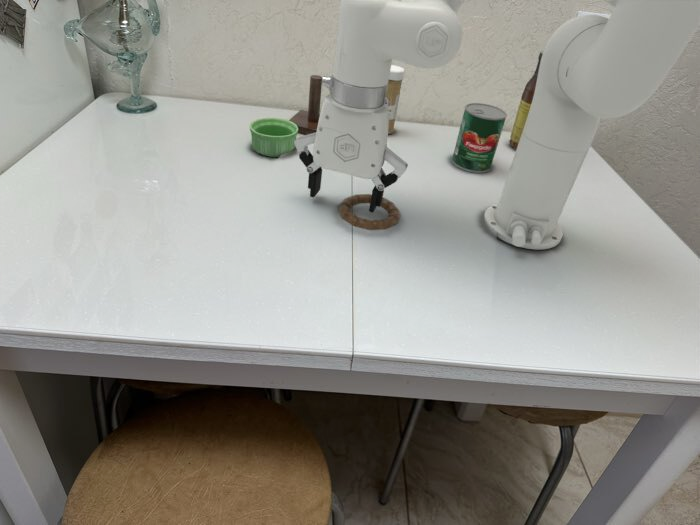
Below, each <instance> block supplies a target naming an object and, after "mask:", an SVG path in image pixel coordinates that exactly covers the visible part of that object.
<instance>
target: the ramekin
mask: <svg viewBox="0 0 700 525" xmlns="http://www.w3.org/2000/svg"><path fill="white" fill-rule="evenodd" d="M249 131H250V135H251V136H250V137H251V145H252V149H253V150H254V151H255V152H256V153H257V154H259V155H262V156H265V157H271V158H280V157H281V156H282V155H283V154H286V153H290V152H292V151H294V149H296V146H295V144H294V141H295V140H296V139H297V138H298V137H297V136H298V134H299V133H298V127H297V125H296V124H294V123H293V122H291V121H289V119H285V118H279V117H262V118H257V119H255V120H253V121H251V122H250V123H249Z"/></svg>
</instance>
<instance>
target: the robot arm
mask: <svg viewBox="0 0 700 525" xmlns="http://www.w3.org/2000/svg"><path fill="white" fill-rule="evenodd" d="M464 1H465V0H340V4H339V12H338V23H337V31H336V32H337V33H336V40H335V41H336V42H335V52H334V62H333V71H332V75H329V76H326V75H323V76H322V87H325V88H327V89H328V91H329V94H327V96H325V97H324V99H323V102H322V105H321V107H320V117H319V121H318V126H317V132H315V133H312V134H308V135H306V134H303V135H301V136H298V137H296V140H295V141H294V144H295V149H296V151H297V154H298V159H299V160H300V161H301V162H302V164H303V165H304V166H305V168H306V172H307V173H308V181H307V189H308V190H309V197H310V198H315V197H316V196H317V195H318V193H319V191H320V190H321V186H322V177H323V169H325V170H329V171H332V172H336V173H340V174H344V175H347V176H353V177H356V178H361V179H365V180H371V181H372V183H373V185H374V187H373V188H372V191H371V195H372V196H371V202H370V203H369V209H368V211H369V213H372V214H374V212H375V210H376V208H377V207H378V208H379V207H380V208H381V206H380V205H381V203H382V198H384V192H385V189H386V188H388V187H390V186H392V185H393V184H395V183H397V181H398V180H399V179H400V178H401V177H402V176H403V175H404V173H405V172H406V171H407V168H408V166H409V165H408V162H406V161H405V160H404V159H402V158H401V157H400V156H399V155H398V154H397V153H395V152H394V151H393V150H391V149H390V148H389V147H388V138H389V134H388V125H389V110H388V105H387V104H385V98H386V92H387V86H388V81H389V75H390V69H391V65H392V62H393V61H397V62H400V63H404V64H406V65H410V66H413V67H417V68H420V69H436V68H440V67H443V66H445V65H447V64H448V63H449V62H451V61H452V59H454V58H455V57H456V55H457V54H458V52H459V50H460V48H461V45H462V40H463V29H462V25H461V21H460V19H459V17H458V15H457V12H458V11H459V9H460V8H461V6H462V5H463V3H464ZM603 1H604V2H606V3H607V4H609V5H610V6H612V7H614V9H613V11H612V12H611V14H610V16H609V18H608V17H606V16H602V15H598V14H583V15H578V16H575V17H573V18H570V19H569V20H567V21H565V22H564V23H563V24H561V25H560V26H559V27H558V28H557V29H556V30H555V31H554V32H553V33H552V34H551V36H550V38H549V39H548V41H547V43H546V44H545V47H544V50H543V51H544V52H543V55H542V58H541V62H540V66H539V72H538V77H537V82H536V88H535V92H534V96H533V100H532V104H531V107H530V110H529V114H528V117H527V120H526V123H525V126H524V129H523V132H522V135H521V137H520V140H519V143H518V146H517V149H515V153H514V155H513V158H512V161H511V164H510V167H509V170H508V173H507V176H506V179H505V182H504V186H503V188H502V191H501V194H500V197H499V200H498V203H493V204H492V205H490V206H488V207H487V208H486V210H485V211H484V216H483V217H484V221H485V223H486V225H487V226H488V227H489V228H490V229H491V230H492V231H493V232H495V233H496V237H497V238H498V239H499V240H501V241H502V242H505V243H507V244H510V245H512V246H515V247H517V248H522V249H526V250H534V251H535V250H548V249H552V248H555V247H556V246H557V245H558V246H559V244H560V242H561V240H562V238H563V236H564V230H563V228H562V226H561V225H560V223H559V219H560V217H561V215H562V213H563V210H564V208H565V206H566V203H567V201H568V198H569V196H570V194H571V191H572V190H573V187H574V186H575V182H576V180H577V178H578V176H579V173H580V171H581V168H582V166H583V163H584V162H585V159H586V157H587V154H588V152H589V150H590V148H591V147H592V146H591V145H592V143H593V141H594V139H595V136H596V134H597V131H598V128H599V125H600V121H601V120H602V119H603V120H613V119H619V118H622V117H625V116H627V115H629V114H632V113H633V112H635V111H636V110H637V109H639V108H640V107H642V105H644V104H645V103H646V102H647V101H648V100H649V99H650V98H651V97H652V95H653V94H654V93H655V92H656V91H657V90H658V88H659V87H660V86H661V84H662V83H663V82H664V80H665V78H666V77H667V76H668V74H669V73H670V71H671V70H672V68H673V67H674V65H675V64H676V62H677V61H678V60H679V58H680V56H681V55H682V53H683V52H684V50H685V49H686V47H687V46H688V44H689V43H690V42H691V40H692V38H694V36H695V34H696V33H697V31H698V29H699V28H700V0H603ZM310 145H313V152H312V153H311V151H310V150H309V148H308V146H310ZM385 161H386V162H387V163H388V164H390V165H391V166H392V167H393V168H394V169H393V171H391V172H389V173H387V174H386V172H385V170H384V169H383V166H384V164H385Z"/></svg>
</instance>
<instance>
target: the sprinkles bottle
mask: <svg viewBox="0 0 700 525" xmlns="http://www.w3.org/2000/svg"><path fill="white" fill-rule="evenodd" d="M404 78H405V68H403V66H402V67H401V66H399V65H396V64H395V65H394V64H391V69H390V75H389V81H388V86H387V92H386V98H385V104H387V105H388V110H389V125H388V135H392V134H393V133H394V132H395V123H396V118H397V113H398V107H399V102H400V96H401V94H400V93H401V90H402V84H403V80H404Z"/></svg>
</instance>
